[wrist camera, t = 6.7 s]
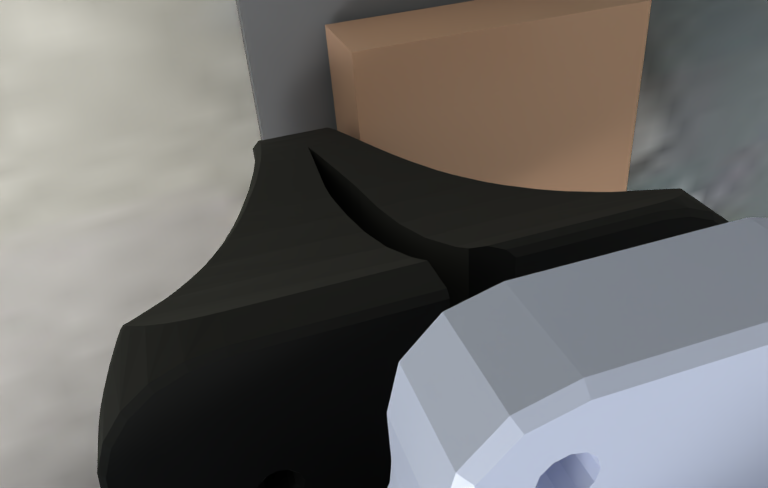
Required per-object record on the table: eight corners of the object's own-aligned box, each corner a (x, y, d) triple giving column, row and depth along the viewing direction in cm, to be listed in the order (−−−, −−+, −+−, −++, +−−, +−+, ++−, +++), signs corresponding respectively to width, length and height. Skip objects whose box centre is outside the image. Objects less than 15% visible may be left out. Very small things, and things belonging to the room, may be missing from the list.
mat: (549, 227, 16) (557, 236, 15) (289, 291, 14) (293, 302, 14) (567, -57, 13) (579, -53, 12) (234, -8, 11) (238, -1, 11)
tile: (351, 270, 14) (571, 216, 15) (377, 321, 13) (617, 258, 14) (323, 22, 11) (591, -21, 13) (352, 52, 10) (651, 0, 11)
